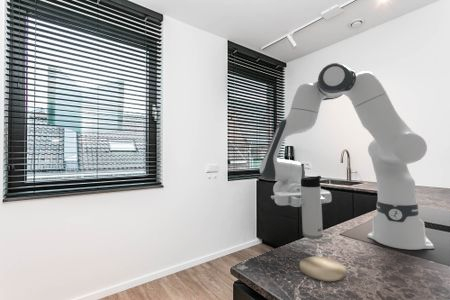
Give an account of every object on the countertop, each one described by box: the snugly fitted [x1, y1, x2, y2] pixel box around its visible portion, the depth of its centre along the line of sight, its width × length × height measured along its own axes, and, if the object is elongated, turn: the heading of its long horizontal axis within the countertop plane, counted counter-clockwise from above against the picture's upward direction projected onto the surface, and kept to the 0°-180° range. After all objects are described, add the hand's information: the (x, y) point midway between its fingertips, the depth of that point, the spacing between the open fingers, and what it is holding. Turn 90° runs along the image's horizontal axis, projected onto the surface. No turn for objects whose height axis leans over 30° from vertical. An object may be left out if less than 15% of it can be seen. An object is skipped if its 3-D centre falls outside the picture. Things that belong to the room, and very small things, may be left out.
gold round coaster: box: [299, 256, 347, 282], centre depth 65 cm, size 12×12×1 cm
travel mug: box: [301, 175, 324, 240], centre depth 77 cm, size 6×7×20 cm
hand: (312, 201), depth 77 cm, fingers closed on travel mug, 6 cm apart
